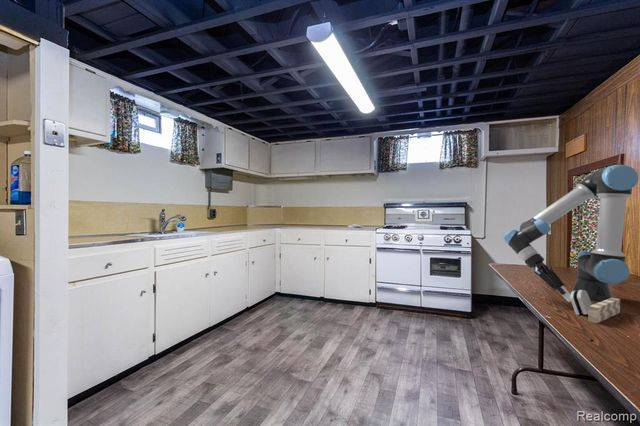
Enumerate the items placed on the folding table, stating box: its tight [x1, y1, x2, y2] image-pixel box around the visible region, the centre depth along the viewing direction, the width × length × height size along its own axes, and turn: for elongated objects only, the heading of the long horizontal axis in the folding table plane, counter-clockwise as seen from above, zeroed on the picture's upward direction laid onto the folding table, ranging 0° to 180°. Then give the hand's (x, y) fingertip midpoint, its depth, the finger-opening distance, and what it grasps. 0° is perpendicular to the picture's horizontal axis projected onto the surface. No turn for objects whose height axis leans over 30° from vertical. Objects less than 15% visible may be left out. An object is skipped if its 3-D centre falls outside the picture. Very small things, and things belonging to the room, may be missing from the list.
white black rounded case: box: [570, 290, 594, 316], centre depth 130 cm, size 17×5×10 cm, turn 131°
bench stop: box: [587, 296, 621, 324], centre depth 123 cm, size 26×2×6 cm, turn 121°
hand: (571, 300), depth 133 cm, fingers closed
